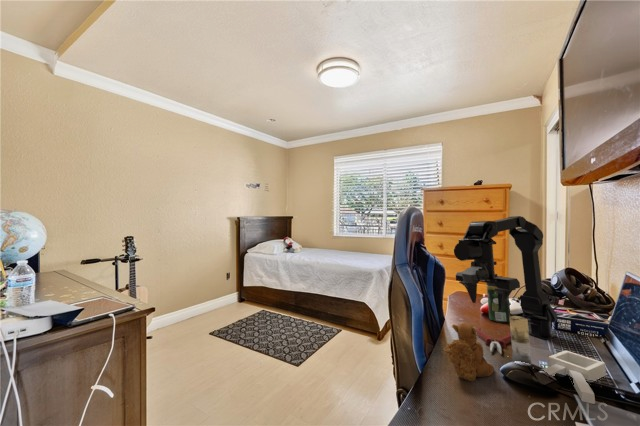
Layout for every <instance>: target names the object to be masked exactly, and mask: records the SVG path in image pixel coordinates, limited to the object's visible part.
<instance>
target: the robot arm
mask: <svg viewBox="0 0 640 426" xmlns="http://www.w3.org/2000/svg"><path fill="white" fill-rule="evenodd" d="M504 231H508V234H509V235H510V236H511V237H512V238H513V239H514V244H515V247H517V248H518V250H519V251H520V253H521V259H522V270H523V271H522V272H523V279H524V280H523V281H524V289H525V291H524V292H523V294H521V295H520V296H519V300H520V304H519V306H520V309H521V312H522V314H523V317H527V318H530V319H529V321H530V323H529V324H530V331H529V336H534V337H537V338H539V339H543V340H550V339H553V338H556V337H557V334H555V333H552V325H551V323H556V322H557V321H558V313H557V312H556V311H555V310H554V308H553V307H552V306H551V302H550V298H549V297H548V296H547V294H545V292H544V291H543V285H542V276H541V275H542V274H541V268H540V258H539V250H540V249H541V248H542V246H543V242H544V240H543V239H544V233H543V231H542V230H541V229H540V228H539V227H538V225H537V224H535V223H532V222H531V221H528V220H527V219H526V218H525V217H524V216H521V215H516V216H514V215H513V216H508V217H505V218H502V219H497V220H479V221H477V220H476V221H471V222H469V225H468V227H467V229H466V231H465V233H464V236H463V237H462V238H461V239H458V243H456V244H455V245H454V249H453V253H454V257H455V258H456V259H457V260H459V261H462V262H463V261H464V262H465V261H471V263H470V266H469V267H468V268H466V269H464V270H463V271H458V272H456V274H455V281H457V282H459V284H461V285H462V286H464V287H465V289H466V291H467V293H468V296H469V298H470V300H471V302H472V303H473V304H474V303H475V304H476V302H477V294H478V293H477V292H478V291H477V290H478V284H479V283H480V282H481V283H491V284H495V285H496V286H497V288H496V289H495V290H496V292H497V293H498V306H499V310H502V309H503V307H504V305H505V303H506V301H507V299H508V297H509V298H510V295H511V293H512V292H513V291H516V290H517V289H520V288H521V283H520V281H519V280H518V278H516V277H508V276H502V278H496V277H498V276H499V275H498V274H497V273H495V271H496V270H495V266H496V265H497V261H496V260H495V257H494V247H493V245H497V242H496V240H494V239H493V238H495V237H496V236H498V234H499V233H500V232H504ZM494 260H495V261H494ZM489 280H490V281H489Z"/></svg>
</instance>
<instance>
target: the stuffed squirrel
mask: <svg viewBox="0 0 640 426" xmlns="http://www.w3.org/2000/svg"><path fill="white" fill-rule="evenodd" d="M451 327H452V328H453V330H454V331H455V332H456V333H457V337H458V339H453V340H452V341H451V343H447V344H446V346H445V347H443V349H442V350H444V353H443V355H445V356H447V358H448V360H449V362H451V364H453V367H454V371H455V373H456V375H457V376H458V377H460V379H464V380H465V381H468V382H475V381H476V379H477V377H478V378H484V377H489V376H491V375H492V374H493V373H494V372H495V367H494V365H493V364H492V363H488V362H487V359H485V356H484V348H483V345H482V343H481V342H480V341H478V340H477V339H478V335H479V334H478V335H477V333H478V332H477V328H478V327H475V326H473V324H471V323H468V322H462V323H459V324H458V325H456V324H454V323H453V324H452V325H451ZM476 332H477V333H476Z"/></svg>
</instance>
